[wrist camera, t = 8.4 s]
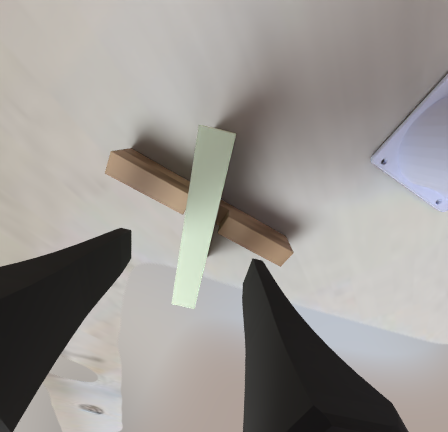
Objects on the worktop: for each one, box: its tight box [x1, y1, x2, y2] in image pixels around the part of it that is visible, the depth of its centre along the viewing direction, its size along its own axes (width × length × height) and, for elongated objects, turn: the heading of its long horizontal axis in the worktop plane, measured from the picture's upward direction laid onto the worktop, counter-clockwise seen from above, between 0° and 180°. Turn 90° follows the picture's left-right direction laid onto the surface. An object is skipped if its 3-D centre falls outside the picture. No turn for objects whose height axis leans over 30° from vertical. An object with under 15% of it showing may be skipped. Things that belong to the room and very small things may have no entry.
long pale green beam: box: [172, 125, 236, 309], centre depth 16 cm, size 14×2×7 cm, turn 167°
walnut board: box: [105, 148, 294, 267], centre depth 17 cm, size 18×2×3 cm, turn 60°
